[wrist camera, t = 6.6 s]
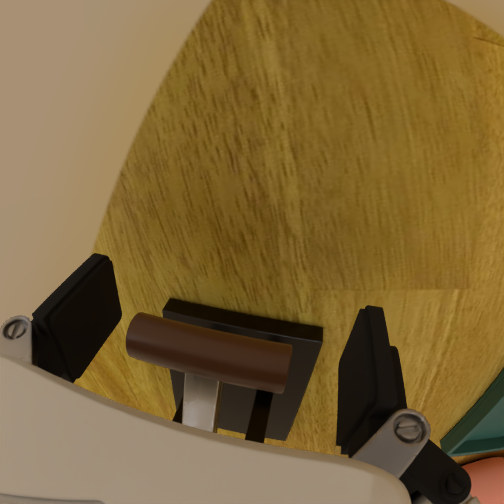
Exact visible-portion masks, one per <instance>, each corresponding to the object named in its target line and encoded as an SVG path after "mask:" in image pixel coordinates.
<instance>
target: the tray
mask: <svg viewBox="0 0 504 504" xmlns="http://www.w3.org/2000/svg"><path fill="white" fill-rule="evenodd" d="M440 444H441V450H442V451H444V452H445V453H446V454H447V455H448V456H449V457H453V456H463V455H472V454H479V453H486V452H493V451H499V450H504V369H503V370H502V372H501V373H500V374H499V376H498V377H497V378H496V379H495V381H494V382H493V383H492V385H491V386H490V387H489V388H488V390H487V391H486V392H485V393H484V394H483V396H482V397H481V398H480V399H479V400H478V401H477V403H476V404H475V405H474V406H473V407H472V408H471V409H470V411H469V412H468V413H467V414H466V415H465V416H464V417H463V418H462V419H461V420H460V421H459V423H458V424H457V425H456V426H455V427H454V428H453V429H452V430H451V431H450V432H449V433H448V434H447V435H446V436H445V437H444V438H443V439H442V440H441V441H440Z"/></svg>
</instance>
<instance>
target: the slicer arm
mask: <svg viewBox="0 0 504 504" xmlns="http://www.w3.org/2000/svg"><path fill="white" fill-rule="evenodd" d="M126 350H127V353H128V355H129V356H130V357H133V358H136V359H139V360H142V361H145V362H149V363H152V364H155V365H159V366H162V367H166V368H169V369H173V370H176V371H180V372H184V373H185V383H184V399H183V417H182V424H184V425H187V426H191V427H195V428H198V429H202V430H206V431H209V432H213V433H217V428H218V420H219V413H220V406H221V398H222V391H223V384H224V383H229V384H233V385H238V386H243V387H248V388H253V389H258V390H263V391H269V392H274V393H280V394H281V393H283V391H284V388H285V385H286V381H287V376H288V372H289V366H290V361H291V355H292V345H289V344H284V343H278V342H272V341H267V340H262V339H256V338H251V337H246V336H241V335H236V334H231V333H227V332H222V331H217V330H213V329H208V328H204V327H199V326H195V325H191V324H186V323H182V322H178V321H174V320H170V319H166V318H162V317H158V316H154V315H150V314H146V313H143V312H140V313H138V314H136V315H135V316H134V318H133V319H132V321H131V323H130V325H129V328H128V331H127V336H126Z"/></svg>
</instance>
